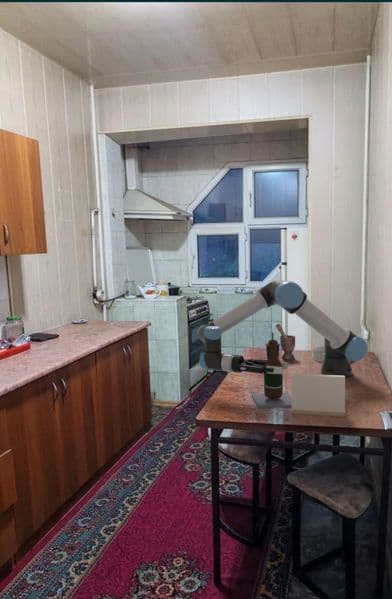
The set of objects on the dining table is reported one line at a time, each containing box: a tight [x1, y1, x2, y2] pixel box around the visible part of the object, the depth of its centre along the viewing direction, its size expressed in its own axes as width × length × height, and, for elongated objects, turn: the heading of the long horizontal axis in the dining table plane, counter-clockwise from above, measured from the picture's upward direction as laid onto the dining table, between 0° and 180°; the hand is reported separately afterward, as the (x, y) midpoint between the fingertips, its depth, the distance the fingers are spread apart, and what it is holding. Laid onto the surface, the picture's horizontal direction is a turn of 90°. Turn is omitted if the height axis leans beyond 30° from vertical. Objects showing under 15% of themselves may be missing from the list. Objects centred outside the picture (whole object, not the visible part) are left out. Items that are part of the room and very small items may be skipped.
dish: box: [311, 346, 351, 363], centre depth 262 cm, size 22×22×5 cm
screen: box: [291, 373, 346, 418], centre depth 178 cm, size 20×6×15 cm, turn 75°
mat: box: [251, 392, 292, 409], centre depth 194 cm, size 16×16×1 cm
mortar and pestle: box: [275, 323, 296, 361], centre depth 265 cm, size 12×9×20 cm
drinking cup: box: [265, 332, 281, 360], centre depth 242 cm, size 8×8×20 cm
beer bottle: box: [263, 339, 284, 399], centre depth 192 cm, size 8×8×24 cm
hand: (284, 368), depth 190 cm, fingers closed on beer bottle, 7 cm apart
